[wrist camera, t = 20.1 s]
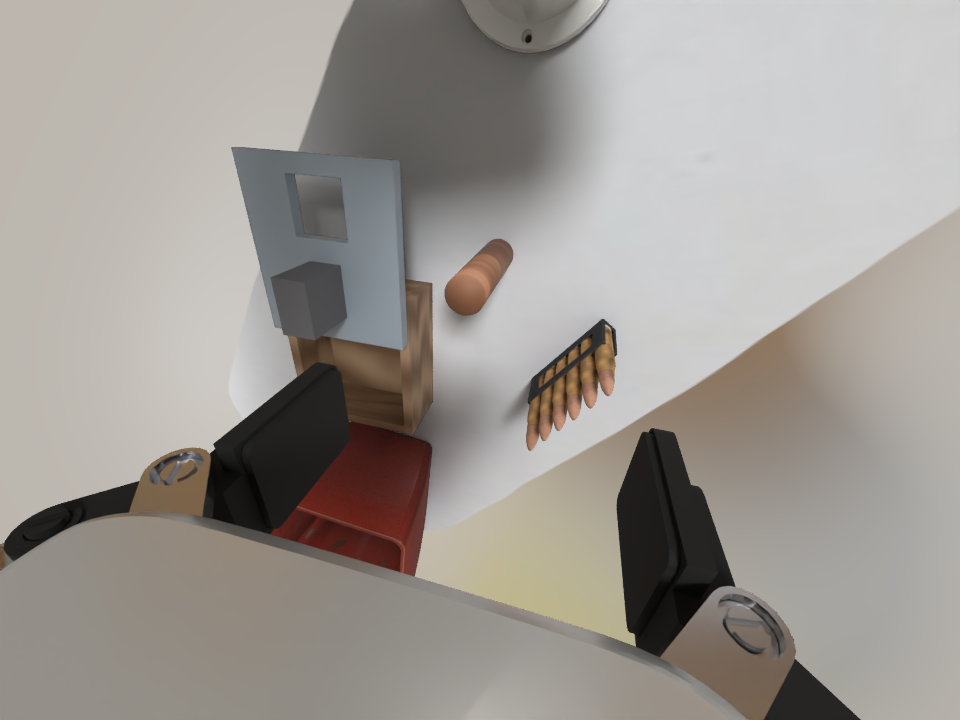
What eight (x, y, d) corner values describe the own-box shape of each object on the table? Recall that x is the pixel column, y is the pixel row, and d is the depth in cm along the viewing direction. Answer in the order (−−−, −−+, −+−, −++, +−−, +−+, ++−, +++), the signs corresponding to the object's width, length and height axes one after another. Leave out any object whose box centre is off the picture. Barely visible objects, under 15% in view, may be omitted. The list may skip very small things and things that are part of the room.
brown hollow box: (317, 266, 43) (276, 284, 37) (432, 283, 40) (407, 305, 35) (336, 381, 51) (305, 411, 45) (432, 401, 49) (412, 434, 43)
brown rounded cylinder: (484, 237, 37) (444, 272, 26) (514, 240, 36) (486, 277, 26) (482, 267, 38) (444, 312, 28) (511, 271, 38) (483, 318, 27)
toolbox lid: (242, 147, 31) (173, 147, 26) (399, 160, 28) (358, 163, 23) (283, 322, 39) (236, 349, 34) (407, 344, 37) (378, 377, 31)
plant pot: (336, 485, 63) (263, 584, 49) (327, 395, 53) (233, 486, 39) (443, 518, 60) (400, 633, 46) (456, 431, 50) (405, 543, 36)
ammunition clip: (543, 388, 44) (530, 461, 34) (531, 378, 43) (515, 448, 33) (616, 330, 38) (626, 395, 28) (603, 318, 38) (609, 380, 28)
